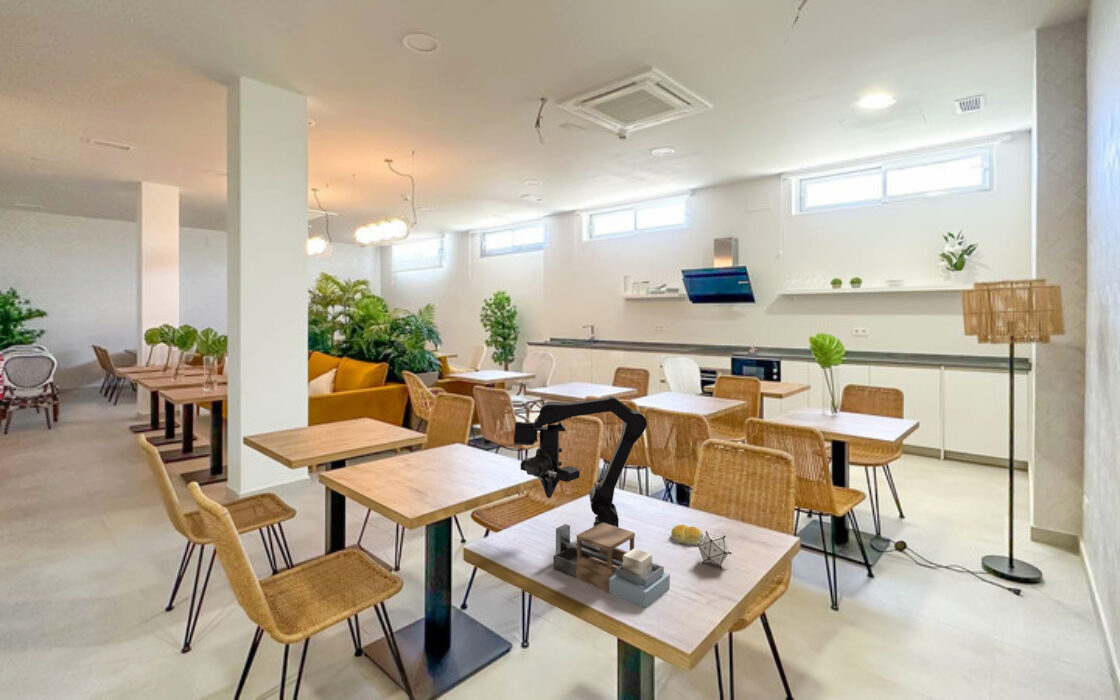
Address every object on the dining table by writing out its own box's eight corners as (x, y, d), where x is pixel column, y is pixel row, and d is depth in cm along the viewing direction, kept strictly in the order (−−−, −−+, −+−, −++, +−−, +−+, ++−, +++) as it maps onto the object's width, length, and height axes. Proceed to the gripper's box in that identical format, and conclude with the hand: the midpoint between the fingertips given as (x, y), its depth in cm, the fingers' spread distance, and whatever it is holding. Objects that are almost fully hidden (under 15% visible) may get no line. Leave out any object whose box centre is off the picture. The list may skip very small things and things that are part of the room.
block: (622, 575, 123) (623, 555, 123) (634, 568, 127) (634, 548, 127) (640, 582, 120) (641, 561, 120) (651, 574, 124) (652, 554, 124)
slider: (550, 560, 136) (550, 530, 136) (570, 550, 143) (570, 521, 142) (645, 599, 118) (646, 565, 117) (663, 585, 124) (664, 553, 123)
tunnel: (553, 568, 134) (553, 527, 133) (579, 554, 142) (580, 515, 142) (609, 592, 123) (609, 547, 122) (634, 575, 131) (634, 532, 130)
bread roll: (676, 531, 159) (676, 518, 158) (705, 538, 154) (705, 525, 154) (666, 541, 152) (666, 527, 151) (696, 548, 147) (697, 535, 147)
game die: (713, 581, 135) (707, 560, 130) (693, 557, 142) (686, 537, 137) (740, 561, 137) (735, 540, 132) (718, 539, 144) (713, 518, 138)
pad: (609, 592, 123) (609, 577, 122) (634, 575, 131) (634, 561, 131) (645, 607, 116) (646, 592, 116) (669, 588, 124) (669, 574, 124)
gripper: (507, 445, 152) (507, 497, 152) (555, 456, 139) (555, 513, 140) (533, 438, 160) (533, 488, 161) (580, 448, 148) (580, 502, 149)
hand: (549, 497), depth 153 cm, fingers closed
